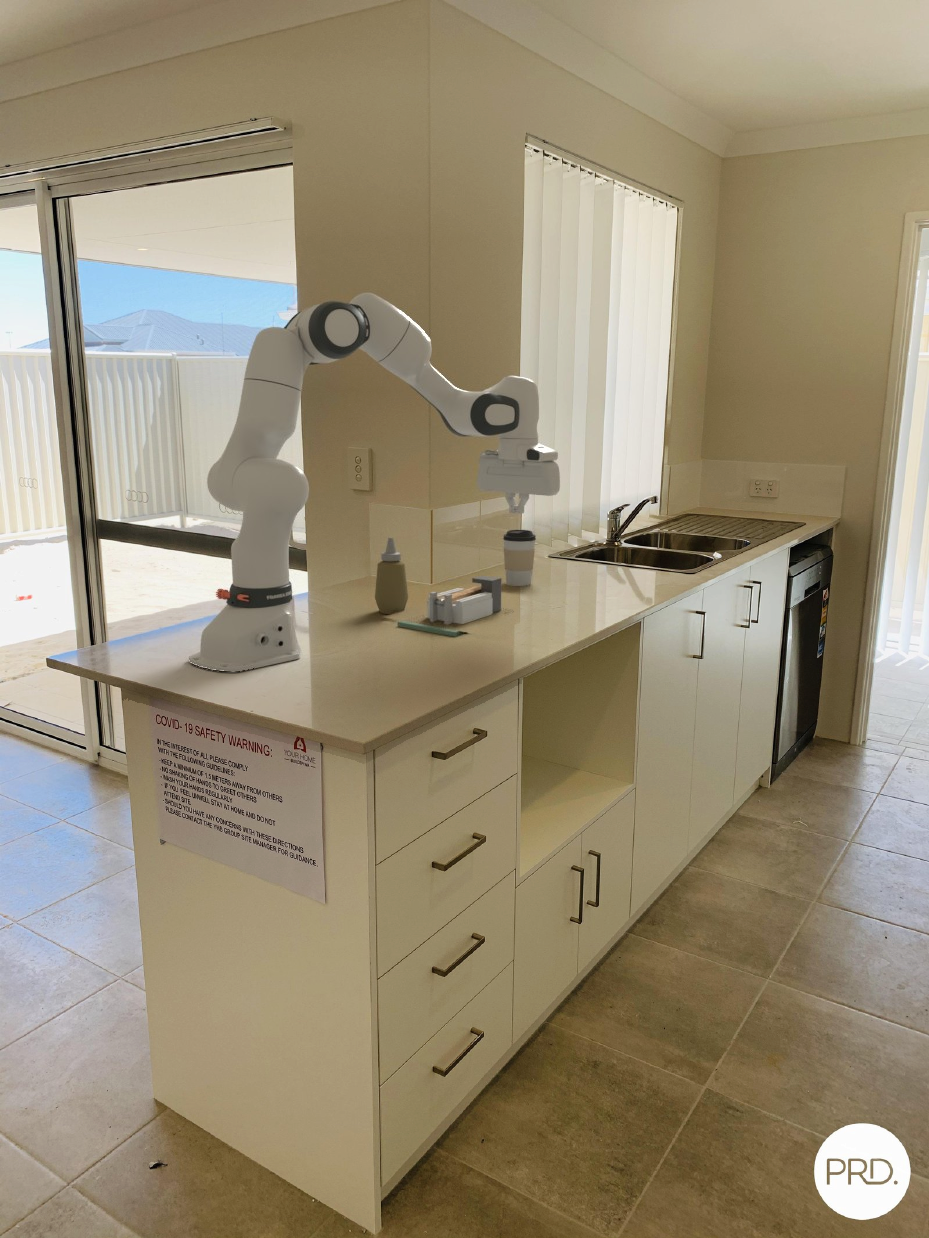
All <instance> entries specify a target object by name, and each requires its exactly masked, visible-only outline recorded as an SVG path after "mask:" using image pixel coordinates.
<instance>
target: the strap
mask: <svg viewBox="0 0 929 1238" xmlns="http://www.w3.org/2000/svg"><path fill="white" fill-rule="evenodd" d="M480 593H481V586H479V585H475V586H472V587H469V588H467V589H465V590H463V591H460V592H457V593H453V594H452V603H455V601H456V600H460V599H463V598H466V597H470V596H473V595H476V594H480ZM435 605H441V606H444V597H441V598H438V599H435Z"/></svg>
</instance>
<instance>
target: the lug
mask: <svg viewBox="0 0 929 1238" xmlns="http://www.w3.org/2000/svg"><path fill="white" fill-rule="evenodd" d="M471 581H472V582H471V583H474V584H480V585H481V593H483V592H488V593H492V598H493V601H492V614H494V613H498V612H501V610H502V577H495V576H486V575H479V576H476V577H472V580H471Z"/></svg>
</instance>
